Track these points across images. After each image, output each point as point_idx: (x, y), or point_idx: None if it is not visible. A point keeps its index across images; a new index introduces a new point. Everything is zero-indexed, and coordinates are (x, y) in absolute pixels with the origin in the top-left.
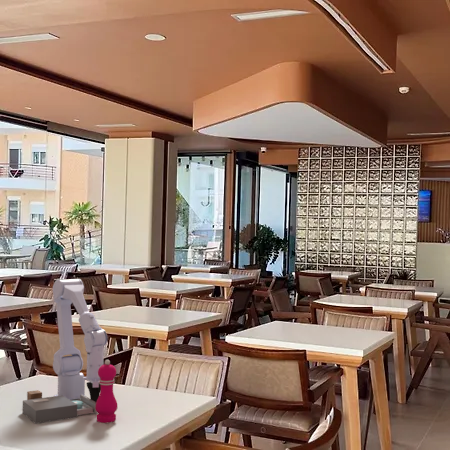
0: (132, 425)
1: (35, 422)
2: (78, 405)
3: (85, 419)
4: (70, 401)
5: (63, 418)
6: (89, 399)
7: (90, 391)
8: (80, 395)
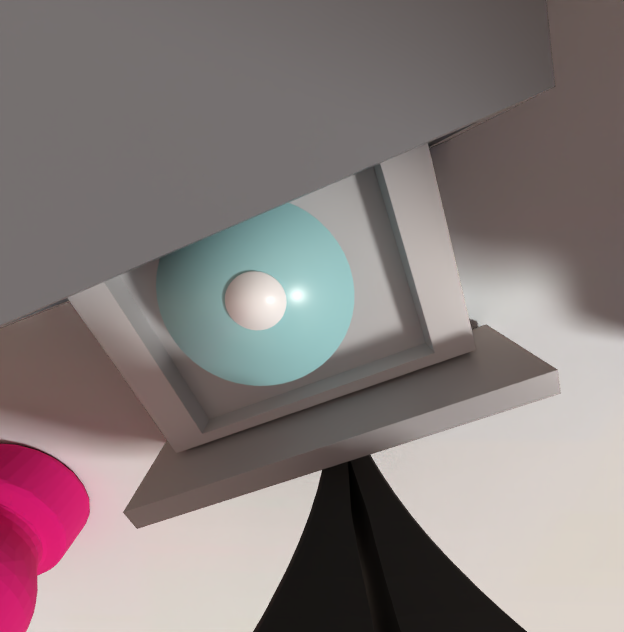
0: None
1: None
2: (182, 337)
3: (18, 367)
4: (106, 249)
5: None
6: (300, 463)
7: (289, 579)
8: (544, 367)
